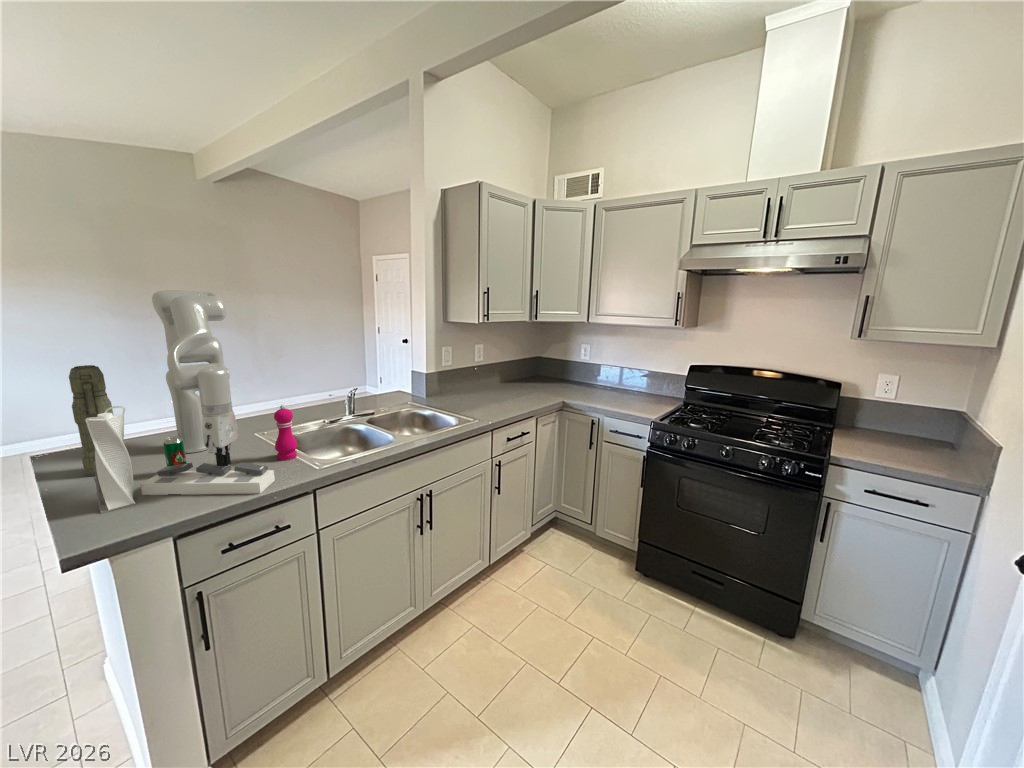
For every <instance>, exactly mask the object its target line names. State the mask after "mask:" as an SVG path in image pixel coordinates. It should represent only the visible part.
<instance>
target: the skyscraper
mask: <svg viewBox="0 0 1024 768" xmlns="http://www.w3.org/2000/svg"><path fill="white" fill-rule="evenodd" d="M119 408H120V409H123V410H122V414H113V415H112V413H107V411H108V410H110V409H112V410H113V409H119ZM125 413H126V407H125V406H122V405H116V406H115V405H112V407H110V408H108V409H106V411H105V412H104V413H102V414H98V415H97V416H98V417H90V418H86V420H85V421H86V424H87V427H88V430H89V433H90V435H91V438H92V441H93V443H94V446H95V462H94V464H95V468H94V470H95V474H96V476H94V477H93V479H94V482H95V485H96V487H95V488H96V492H95V493H96V495H97V501H98V502H97V505H98V509H99V514H100V515H102V514H105V513H109V511H110V512H114V511H117V510H121V509H124V508H129V507H131V506H136V505H135V504H136V501H135V499H134V472H133V466H132V461H131V457H130V454H129V451H128V449H127V447H126V445H125V443H124V439H125V438H124V437H125V435H124V434H125ZM128 506H129V507H128Z"/></svg>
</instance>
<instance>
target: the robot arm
mask: <svg viewBox="0 0 1024 768" xmlns="http://www.w3.org/2000/svg"><path fill="white" fill-rule="evenodd" d="M151 301H152V302H151V303H152V306H153V309H154V311H155V312H156V314H157V316H158V317H159V319H160V320H161V323H162V324H163V328H164V334H165V343H166V349H167V357H166V364H167V368H168V371H167V372H166V374H165V381H166V384H167V387H168V390H169V393H170V396H171V401H172V407H173V412H174V413H173V414H174V419H175V425H176V426H175V427H176V433H177V434H176V435H177V436H180V437H181V438H182V439H183V441H184V448H185V454H192V453H198V452H204V451H206V450H208V454H213V455H215V460H216V461H215V462H216V463H215V464H217V466H230V465H231V464H232V463H231V462H232V461H231V455H230V452H231V445H232V443H234V441H236V440H237V439H238V438H239V429H238V423H237V418H236V415H235V412H234V410H233V404H232V396H231V395H232V394H231V393H232V392H231V386H230V377H231V375H230V370H229V368H228V367H227V366H226V365H225V363H224V354H223V347H222V344H221V342H220V340H219V339H218V338H216V337H215V336H213V334H212V330H211V328H210V325H209V322H221V321H224V320H225V319H226V316H227V308H226V305H225V303H224V301H223V300H222V298H221V297H220V296H219V295H217V294H215V293H214V292H212V291H205V290H204V291H203V290H173V289H172V290H169V289H167V290H159V291H158V290H157V291H156V292H154V293H153V294H152V296H151ZM206 362H207V363H206ZM193 363H196V364H193ZM197 363H199V364H197ZM182 364H184V365H182ZM185 364H186V365H185ZM196 392H198V394H197V393H196Z"/></svg>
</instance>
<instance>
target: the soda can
mask: <svg viewBox="0 0 1024 768" xmlns="http://www.w3.org/2000/svg"><path fill="white" fill-rule="evenodd" d="M162 444H163V449H164V450H163V451H164V456H165V464H166V467H168V466H175V465H181V464H187V456H186V453H185V448H184V441H183V439H182V438H181V437H180V436H178V435H177V436H169V437H167V438H164V441H163V443H162Z"/></svg>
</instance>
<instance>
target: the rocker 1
mask: <svg viewBox="0 0 1024 768" xmlns="http://www.w3.org/2000/svg"><path fill="white" fill-rule="evenodd" d="M193 467H194V464H193V462H189V463H187V464H181V465H175V466H168V467H167V466H164V467H162V468H160V469H159V470H158V471H156V475H157V474H158V476H162V475H168V474H170V475H174V474H176V473H180V472H185V471H190V470H191V469H192V468H193Z"/></svg>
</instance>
